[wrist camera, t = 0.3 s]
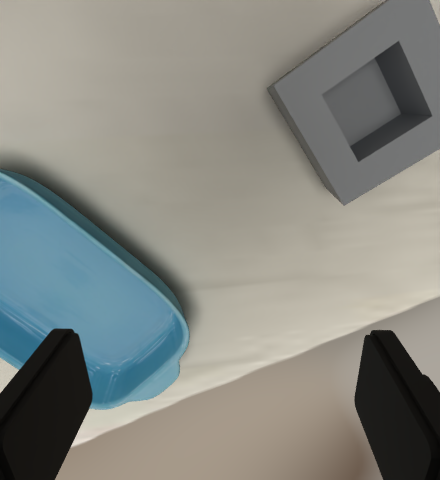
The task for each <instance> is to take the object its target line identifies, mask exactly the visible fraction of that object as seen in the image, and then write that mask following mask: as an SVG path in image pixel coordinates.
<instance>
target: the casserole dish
mask: <svg viewBox="0 0 440 480" xmlns="http://www.w3.org/2000/svg"><path fill="white" fill-rule="evenodd" d="M55 328H62V329H73V330H74V332H75V333H78V334H79V337H80V341H81V345H82V350H83V354H84V358H85V362H86V367H87V371H88V375H89V379H90V384H91V388H92V392H93V398H92V403H91V406H90V408H91V409H99V410H104V409H111V408H115V407H118V406H120V405H122V404H125V403H127V402H130V401H141V400H148V399H151V398H154V397H155V396H157V395H159V394H160V393H162V392H163V391H164V390H165V389H167V388H168V387H169V386H170V385H171V384H172V383H173V382H174V381H175V380H176V379H177V378H178V376H179V373H180V365H179V359H180V358H181V356H182V355H183V353H184V352H185V350H186V348H187V346H188V343H189V337H190V334H189V328H188V325H187V322H186V320H185V317H184V314H183V311H182V308H181V306H180V304H179V302H178V300H177V298H176V297H175V295H174V294H173V293H172V291H171V290H170V289H169V288H168V286H167V285H166V284H165V283H164V282H163V281H162V280H161V279H160V278H159V277H157V276H156V275H155V274H154V273H153V272H152V271H151V270H149V269H148V268H147V267H146V266H145V265H143V264H142V263H141V262H140V261H139V260H137V259H136V258H135V257H134V256H133V255H131V254H130V253H129V252H128V251H126V250H125V249H124V248H123V247H121V246H120V245H119V244H118V243H116V242H115V241H114V240H113V239H112V238H110V237H109V236H108V235H107V234H105V233H104V232H103V231H102V230H101V229H99V228H98V227H97V226H96V225H94V224H93V223H92V222H91V221H90V220H88V219H87V218H86V217H85V216H83V215H82V214H81V213H80V212H78V211H77V210H76V209H75V208H73V207H72V206H71V205H69V204H68V203H67V202H65V201H64V200H63V199H61V198H60V197H59V196H57V195H56V194H55V193H53V192H52V191H50V190H49V189H47V188H46V187H44V186H43V185H41V184H39V183H38V182H36V181H34V180H32V179H30V178H28V177H26V176H24V175H21V174H19V173H15V172H12V171H8V170H3V169H0V358H2V359H3V360H5V361H6V362H8V363H9V364H11V365H12V366H14V367H15V368H17V369H18V370H20V369H21V367H22V366H23V365H24V364H25V362H26V361H27V360H28V359H29V357H30V356H31V355H32V354H33V353H34V351H35V350H36V349H37V348H38V346H39V345H40V344H41V343H42V341H43V340H44V339H45V338H46V336H47V335H48V334H49V333H50V332H51V331H52V330H53V329H55Z"/></svg>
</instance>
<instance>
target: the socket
mask: <svg viewBox="0 0 440 480" xmlns="http://www.w3.org/2000/svg"><path fill="white" fill-rule="evenodd" d="M267 90H268V91H269V93H270V95H271V96H272V98H273V100H274V101H275V103H276V105H277V106H278V108H279V110H280V112H281V113H282V115H283V117H284V118H285V120H286V122H287V123H288V125H289V127H290V128H291V130H292V132H293V133H294V135H295V137H296V138H297V140H298V142H299V143H300V145H301V147H302V149H303V150H304V152H305V154H306V155H307V157H308V159H309V160H310V162H311V164H312V165H313V167H314V169H315V170H316V172H317V174H318V175H319V177H320V179H321V181H322V182H323V184H324V186H325V187H326V189H327V190H328V191H329V192H330V193H331V194H332V195H333V196H334V197H336V198H337V199H338V200H339V201H340V202H341V203H342V204H343V205H346V204H348V203H349V202H351V201H353V200H354V199H356V198H358V197H359V196H361V195H363V194H364V193H366V192H368V191H369V190H371V189H373V188H375V187H376V186H378V185H380V184H381V183H383V182H385V181H386V180H388V179H390V178H391V177H393V176H395V175H396V174H398V173H400V172H401V171H403V170H405V169H406V168H408V167H410V166H412V165H413V164H415V163H417V162H418V161H420V160H422V159H423V158H425V157H427V156H428V155H430V154H432V153H433V152H435V151H437V150H438V149H440V25H439V23H438V20H437V18H436V15H435V13H434V10H433V8H432V5H431V3H430V0H386V1H384V2H383V3H382V4H380V5H379V6H377V7H376V8H375V9H373V10H372V11H371V12H369V13H368V14H367V15H365V16H364V17H363V18H361V19H360V20H359V21H357V22H356V23H355V24H353V25H352V26H350V27H349V28H348V29H346V30H345V31H344V32H342V33H341V34H340V35H338V36H337V37H336V38H334V39H333V40H332V41H330V42H329V43H328V44H326V45H325V46H323V47H322V48H321V49H319V50H318V51H317V52H315V53H314V54H313V55H311V56H310V57H309V58H307V59H306V60H305V61H303V62H302V63H300V64H299V65H298V66H296V67H295V68H294V69H292V70H291V71H290V72H288V73H287V74H286V75H284V76H283V77H282V78H280V79H279V80H278V81H276V82H275V83H273V84H272V85H271V86H269V87H268V88H267Z"/></svg>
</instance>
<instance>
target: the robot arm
mask: <svg viewBox="0 0 440 480" xmlns="http://www.w3.org/2000/svg"><path fill="white" fill-rule="evenodd" d="M92 398H93V392H92V388H91V384H90V379H89V375H88V371H87V367H86V362H85V358H84V354H83V350H82V345H81V341H80V337H79V334H78V333H75V332H74V330H73V329H62V328H55V329H53V330H52V331H51V332H50V333H49V334H48V335H47V336H46V338H45V339H44V340H43V341H42V343H41V344H40V345H39V346H38V348H37V349H36V350H35V351H34V353H33V354H32V355H31V356H30V357H29V359H28V360H27V361H26V362H25V364H24V365H23V366H22V367H21V369H20V370H19V371H18V372H17V373H16V375H15V376H14V377H13V378H12V380H11V381H10V382H9V383H8V385H7V386H6V387H5V388H4V390H3V391H2V392H1V393H0V480H55V478H56V476H57V474H58V472H59V470H60V468H61V466H62V464H63V462H64V460H65V457H66V455H67V453H68V451H69V449H70V447H71V445H72V443H73V441H74V439H75V437H76V435H77V433H78V430H79V428H80V426H81V424H82V422H83V420H84V418H85V416H86V414H87V412H88V410H89V408H90V406H91V403H92ZM355 407H356V410H357V413H358V415H359V418H360V421H361V423H362V426H363V428H364V431H365V433H366V436H367V439H368V441H369V444H370V446H371V449H372V452H373V454H374V456H375V459H376V461H377V464H378V467H379V470H380V472H381V475H382V477H383V480H440V392H439V391H438V389H437V388H436V386H435V385H434V384H433V382H432V381H431V380H430V378H429V377H428V376H426V375H422V373H421V372H420V370H419V369H418V368H417V366H416V365H415V363H414V361H413V360H412V359H411V357H410V356H409V354H408V353H407V351H406V350H405V348H404V347H403V345H402V344H401V342H400V341H399V339H398V338H397V337H396V335H395V333H393V331H391V330H373V331H371V333H370V335H366V336H365V339H364V345H363V350H362V356H361V362H360V368H359V375H358V380H357V386H356V392H355Z"/></svg>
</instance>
